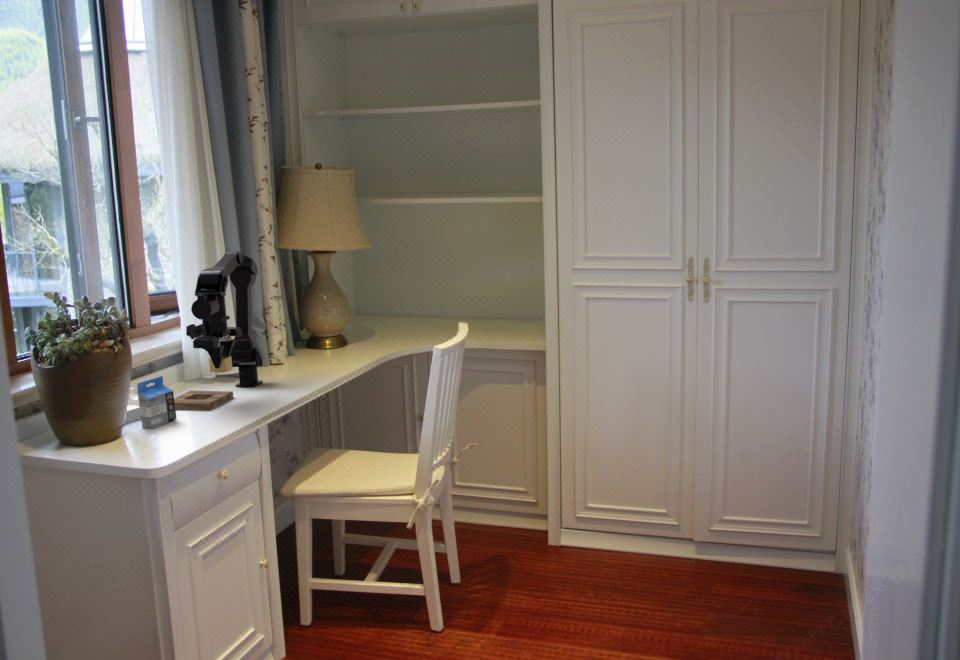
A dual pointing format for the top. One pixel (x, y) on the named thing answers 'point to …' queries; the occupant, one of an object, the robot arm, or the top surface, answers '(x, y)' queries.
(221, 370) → the tan wooden block
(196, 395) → the brown square frame
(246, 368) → the robot arm
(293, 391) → the top surface
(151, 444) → the top surface
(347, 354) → the top surface
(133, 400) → the bracket
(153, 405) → the label tape box
